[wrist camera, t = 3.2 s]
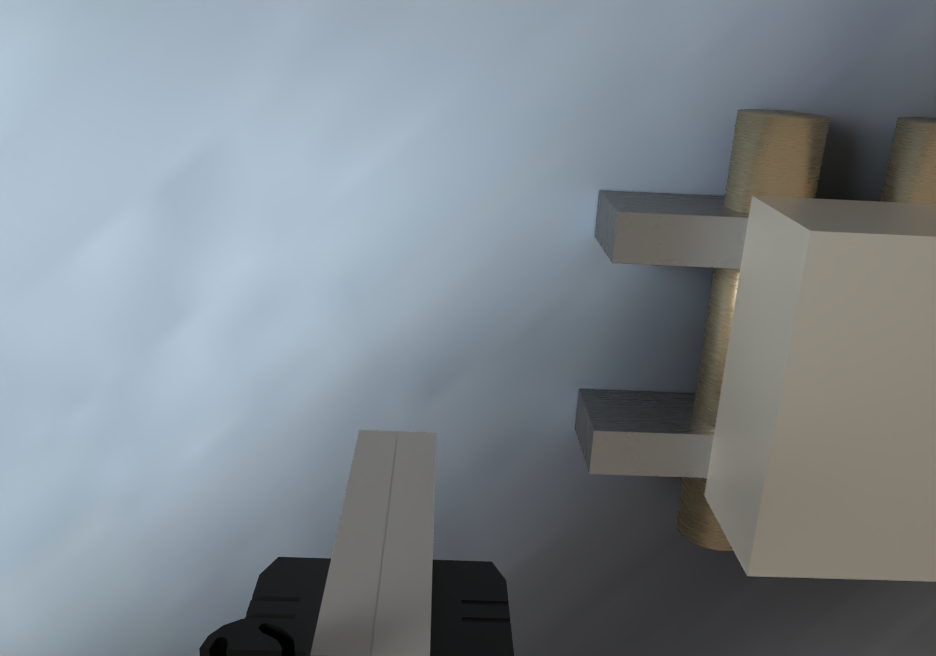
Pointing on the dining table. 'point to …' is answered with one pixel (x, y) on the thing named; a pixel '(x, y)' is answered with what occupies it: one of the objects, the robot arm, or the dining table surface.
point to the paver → (831, 393)
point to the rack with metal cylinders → (716, 291)
